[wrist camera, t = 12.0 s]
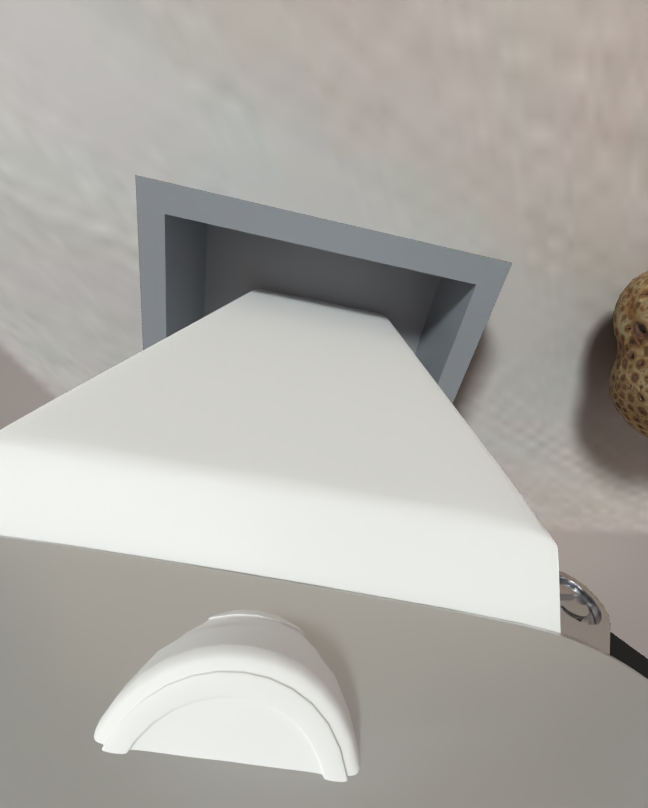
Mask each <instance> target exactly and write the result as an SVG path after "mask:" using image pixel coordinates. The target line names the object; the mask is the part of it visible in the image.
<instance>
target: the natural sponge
mask: <svg viewBox="0 0 648 808" xmlns="http://www.w3.org/2000/svg"><path fill="white" fill-rule="evenodd" d="M613 325H614V334H615V336H616V339H617V355H616V358H615V361H614V364H613V367H612V369H611V373H610V380H609V393H610V396H611V399H612V401H613V403H614V405H615V407H616V409H617V411H618V412H619V413H620V414H621V415H622V416H623V418H624V419H625V420H626V421H627V422H628V424H629V425H631V426H632V427H633V428H634V429H636V430H637V431H638V432H640V433H641V434H643V435H644V436H646V437H648V271H647V272H645V273H643V274H641V275H640V276H638V277H636V278H635V279H633V280H632V282H631V283H630V284H629V285H628V286H627V287H626V288H625V289H624V291H623V292H622V293H621V294H620V296H619V299H618V301H617V303H616V306H615V311H614V315H613Z"/></svg>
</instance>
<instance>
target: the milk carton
mask: <svg viewBox="0 0 648 808" xmlns="http://www.w3.org/2000/svg"><path fill="white" fill-rule="evenodd" d="M0 535H1V536H9V537H16V538H24V539H31V540H39V541H46V542H52V543H58V544H65V545H71V546H77V547H83V548H89V549H96V550H102V551H108V552H115V553H121V554H127V555H134V556H140V557H146V558H153V559H159V560H165V561H172V562H178V563H184V564H190V565H196V566H202V567H208V568H214V569H219V570H225V571H231V572H237V573H243V574H249V575H255V576H261V577H267V578H273V579H279V580H285V581H291V582H297V583H302V584H308V585H314V586H320V587H326V588H332V589H338V590H344V591H349V592H355V593H361V594H366V595H372V596H377V597H383V598H389V599H394V600H400V601H405V602H411V603H417V604H422V605H428V606H433V607H439V608H445V609H450V610H456V611H462V612H467V613H473V614H478V615H483V616H488V617H493V618H497V619H502V620H507V621H512V622H517V623H522V624H526V625H531V626H535V627H539V628H543V629H546V630H550V631H554V632H557V633H561V628H560V587H559V562H558V549H557V545H556V544H555V542H554V541H553V539H552V538H551V536H550V535H549V533H548V532H547V530H546V529H545V527H544V526H543V525H542V523H541V522H540V520H539V519H538V517H537V516H536V515H535V513H534V512H533V511H532V509H531V508H530V507H529V505H528V504H527V502H526V501H525V500H524V498H523V497H522V496H521V494H520V493H519V492H518V490H517V489H516V488H515V486H514V485H513V484H512V482H511V481H510V480H509V478H508V477H507V476H506V474H505V473H504V472H503V470H502V469H501V468H500V466H499V465H498V464H497V462H496V461H495V460H494V458H493V457H492V456H491V454H490V453H489V452H488V450H487V449H486V448H485V446H484V445H483V444H482V442H481V441H480V440H479V439H478V437H477V436H476V435H475V433H474V432H473V431H472V429H471V428H470V427H469V425H468V424H467V423H466V421H465V420H464V419H463V417H462V416H461V415H460V413H459V412H458V411H457V409H456V408H455V407H454V405H453V404H452V403H451V402H450V400H449V399H448V398H447V396H446V395H445V394H444V392H443V391H442V390H441V388H440V387H439V386H438V384H437V383H436V382H435V380H434V379H433V378H432V376H431V375H430V374H429V372H428V371H427V370H426V368H425V367H424V366H423V365H422V363H421V362H420V361H419V359H418V358H417V357H416V355H415V354H414V353H413V351H412V350H411V349H410V347H409V346H408V345H407V343H406V342H405V341H404V339H403V338H402V337H401V335H400V334H399V333H398V331H397V330H396V329H395V328H394V326H393V325H392V324H391V322H390V321H389V320H388V318H387V317H386V316H385V315H383V314H380V313H376V312H371V311H367V310H362V309H357V308H352V307H347V306H342V305H338V304H333V303H328V302H323V301H318V300H313V299H309V298H304V297H299V296H294V295H289V294H284V293H279V292H275V291H270V290H264V289H254V290H253V291H251V292H249V293H247V294H245V295H243V296H242V297H240V298H238V299H236V300H234V301H233V302H231V303H229V304H227V305H225V306H223V307H222V308H220V309H218V310H216V311H214V312H212V313H211V314H209V315H207V316H205V317H203V318H202V319H200V320H198V321H196V322H194V323H192V324H191V325H189V326H187V327H185V328H183V329H181V330H180V331H178V332H176V333H174V334H172V335H171V336H169V337H167V338H165V339H163V340H161V341H160V342H158V343H156V344H154V345H152V346H150V347H149V348H147V349H145V350H143V351H141V352H140V353H138V354H136V355H134V356H132V357H130V358H129V359H127V360H125V361H123V362H121V363H119V364H118V365H116V366H114V367H112V368H110V369H109V370H107V371H105V372H103V373H101V374H99V375H98V376H96V377H94V378H92V379H90V380H88V381H87V382H85V383H83V384H81V385H79V386H78V387H76V388H74V389H72V390H70V391H69V392H67V393H65V394H63V395H61V396H60V397H58V398H56V399H54V400H52V401H51V402H49V403H47V404H45V405H43V406H42V407H40V408H38V409H36V410H35V411H33V412H31V413H29V414H27V415H26V416H24V417H22V418H20V419H19V420H17V421H15V422H13V423H11V424H10V425H8V426H6V427H5V428H3V429H1V430H0ZM208 619H209V620H208V621H207V622H205V623H203V624H202V625H200V626H198V627H196V628H194V629H192V630H190V631H188V632H187V633H185V634H184V635H183V636H181V637H180V638H179V639H177V640H175V641H174V642H172V643H170V644H169V645H167V646H166V647H164V648H162V649H161V650H159V651H158V652H157V653H156V654H155V655H154V656H153V657H152V658H151V659H150V660H149V661H148V662H147V663H146V664H145V665H144V666H143V667H142V668H141V669H140V670H139V672H138V673H137V674H136V675H135V676H134V677H133V678H132V679H131V680H130V681H129V682H128V683H127V684H126V685H125V687H124V688H123V689H122V690H121V692H120V693H119V694H118V695H117V697H116V698H115V700H114V701H113V702H112V704H111V705H110V706H109V708H108V709H107V711H106V712H105V713H104V715H103V716H102V718H101V719H100V721H99V723H98V725H97V727H96V730H95V733H94V739H95V741H96V742H98V743H101V744H103V747H102V750H103V751H105V752H109V753H115V754H126V753H128V751H129V750H142V751H150V752H157V753H165V754H172V755H179V756H187V757H195V758H203V759H212V760H221V761H229V762H237V763H244V764H251V765H258V766H266V767H274V768H282V769H290V770H299V771H306V772H313V773H319V774H322V775H323V777H324V779H326V780H329V781H336V782H346V781H347V780H348V778H347V777H348V776H352V775H356V774H357V773H358V772H359V769H360V751H359V747H358V743H357V739H356V735H355V732H354V728H353V724H352V720H351V716H350V712H349V709H348V707H347V704H346V702H345V699H344V697H343V694H342V692H341V689H340V687H339V684H338V682H337V679H336V677H335V675H334V674H333V672H332V671H331V670H330V669H329V668H328V666H327V665H326V664H325V663H324V661H323V660H322V658H321V657H320V655H319V654H318V652H317V650H316V649H315V648H314V647H313V646H312V645H311V644H310V642H309V641H308V640H307V639H306V638H305V637H304V635H303V634H304V632H303V631H302V630H301V629H300V628H299V627H297V626H296V625H294V624H292V623H291V622H289V621H287V620H286V619H284V618H282V617H281V616H278V615H275V614H271V613H268V612H264V611H261V610H234V611H230V612H226V613H222V614H218V615H214V616H211V617H210V618H208Z"/></svg>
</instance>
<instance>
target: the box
mask: <svg viewBox="0 0 648 808" xmlns="http://www.w3.org/2000/svg"><path fill="white" fill-rule="evenodd" d="M135 178H136V200H137V223H138V245H139V267H140V289H141V312H142V334H143V350H145V349H147V348H149V347H150V346H152V345H154V344H156V343H158V342H160V341H161V340H163V339H165V338H167V337H169V336H171V335H172V334H174V333H176V332H178V331H180V330H181V329H183V328H185V327H187V326H189V325H191V324H192V323H194V322H196V321H198V320H200V319H202V318H203V317H205V316H207V315H209V314H211V313H212V312H214V311H216V310H218V309H220V308H222V307H223V306H225V305H227V304H229V303H231V302H233V301H234V300H236V299H238V298H240V297H242V296H243V295H245V294H247V293H249V292H251V291H253V290H254V289H264V290H270V291H275V292H279V293H284V294H289V295H294V296H299V297H304V298H309V299H313V300H318V301H323V302H328V303H333V304H338V305H342V306H347V307H352V308H357V309H362V310H367V311H371V312H376V313H380V314H383V315H385V316H386V317H387V318H388V320H389V321H390V322H391V324H392V325H393V326H394V328H395V329H396V330H397V331H398V333H399V334H400V335H401V337H402V338H403V339H404V341H405V342H406V343H407V345H408V346H409V347H410V349H411V350H412V351H413V353H414V354H415V355H416V357H417V358H418V359H419V361H420V362H421V363H422V365H423V366H424V367H425V368H426V370H427V371H428V372H429V374H430V375H431V376H432V378H433V379H434V380H435V382H436V383H437V384H438V386H439V387H440V388H441V390H442V391H443V392H444V394H445V395H446V396H447V398H448V399H449V400H450V402H451V403H452V404H453V401H454V399H455V397H456V394H457V392H458V390H459V387H460V385H461V383H462V380H463V378H464V375H465V373H466V371H467V368H468V366H469V364H470V361H471V359H472V357H473V354H474V352H475V350H476V347H477V345H478V342H479V340H480V338H481V335H482V333H483V331H484V328H485V326H486V324H487V321H488V319H489V317H490V314H491V312H492V309H493V307H494V305H495V302H496V300H497V298H498V295H499V293H500V291H501V288H502V286H503V284H504V281H505V279H506V276H507V274H508V272H509V269H510V267H511V265H512V263H511V262H506V261H502V260H498V259H494V258H489V257H485V256H481V255H476V254H472V253H468V252H464V251H459V250H455V249H451V248H446V247H442V246H438V245H433V244H429V243H425V242H421V241H416V240H412V239H408V238H403V237H399V236H395V235H391V234H386V233H382V232H378V231H373V230H369V229H365V228H361V227H356V226H352V225H348V224H343V223H339V222H335V221H331V220H326V219H322V218H318V217H313V216H309V215H305V214H300V213H296V212H292V211H288V210H283V209H279V208H275V207H270V206H266V205H262V204H258V203H253V202H249V201H245V200H240V199H236V198H232V197H228V196H223V195H219V194H215V193H210V192H206V191H202V190H198V189H193V188H189V187H185V186H180V185H176V184H172V183H167V182H163V181H159V180H155V179H150V178H146V177H142V176H137V175H135Z"/></svg>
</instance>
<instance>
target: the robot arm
mask: <svg viewBox="0 0 648 808" xmlns="http://www.w3.org/2000/svg"><path fill="white" fill-rule="evenodd" d="M559 587H560V628H561V633H557V632H554V631H550V630H546V629H543V628H539V627H535V626H531V625H526V624H522V623H517V622H512V621H507V620H502V619H497V618H493V617H488V616H483V615H478V614H473V613H467V612H462V611H456V610H450V609H445V608H439V607H433V606H428V605H422V604H417V603H411V602H405V601H400V600H394V599H389V598H383V597H377V596H372V595H366V594H361V593H355V592H349V591H344V590H338V589H332V588H326V587H320V586H314V585H308V584H302V583H297V582H291V581H285V580H279V579H273V578H267V577H261V576H255V575H249V574H243V573H237V572H231V571H225V570H219V569H214V568H208V567H202V566H196V565H190V564H184V563H178V562H172V561H165V560H159V559H153V558H146V557H140V556H134V555H127V554H121V553H115V552H108V551H102V550H96V549H89V548H83V547H77V546H71V545H65V544H58V543H52V542H46V541H39V540H31V539H24V538H16V537H9V536H1V535H0V808H648V659H647V658H646V657H644V656H643V655H641V654H640V653H639V652H637V651H636V650H634V649H633V648H632V647H630V646H629V645H628V644H626V643H625V642H624V641H622V640H621V639H619V638H618V637H617V636H615V635H614V634H613V633H611V632H610V625H611V624H610V619H609V615H608V613H607V611H606V609H605V607H604V605H603V604H602V603H601V602H600V601H599V599H598V598H597V597H596V596H595V595H594V594H593V593H592V592H591V591H590V590H589V589H588V588H587V587H586V586H584V585H583V584H582V583H580V582H579V581H578V580H576V579H575V578H573V577H571V576H569V575H567V574H566V573H564V572H560V571H559ZM234 610H261V611H264V612H268V613H271V614H275V615H278V616H281V617H282V618H284V619H286V620H287V621H289V622H291V623H292V624H294V625H296V626H297V627H299V628H300V629H301V630H302V631H303V632H304V634H303V635H304V637H305V638H306V639H307V640H308V641H309V642H310V644H311V645H312V646H313V647H314V648H315V649H316V650H317V652H318V654H319V655H320V657H321V658H322V660H323V661H324V663H325V664H326V665H327V666H328V668H329V669H330V670H331V671H332V672H333V674H334V675H335V677H336V679H337V682H338V684H339V687H340V689H341V692H342V694H343V697H344V699H345V702H346V704H347V707H348V709H349V712H350V716H351V720H352V724H353V728H354V732H355V735H356V739H357V743H358V747H359V751H360V769H359V772H358V773H357V774H356V775H352V776H348V777H347V778H348V780H347V781H346V782H336V781H329V780H326V779H324V777H323V775H322V774H319V773H313V772H306V771H299V770H290V769H282V768H274V767H266V766H258V765H251V764H244V763H237V762H229V761H221V760H212V759H203V758H195V757H187V756H179V755H172V754H165V753H157V752H150V751H142V750H129V751H128V753H126V754H115V753H109V752H105V751H103V750H102V747H103V744H101V743H98V742H96V741H95V739H94V733H95V730H96V727H97V725H98V723H99V721H100V719H101V718H102V716H103V715H104V713H105V712H106V711H107V709H108V708H109V706H110V705H111V704H112V702H113V701H114V700H115V698H116V697H117V695H118V694H119V693H120V692H121V690H122V689H123V688H124V687H125V685H126V684H127V683H128V682H129V681H130V680H131V679H132V678H133V677H134V676H135V675H136V674H137V673H138V672H139V670H140V669H141V668H142V667H143V666H144V665H145V664H146V663H147V662H148V661H149V660H150V659H151V658H152V657H153V656H154V655H155V654H156V653H157V652H158V651H159V650H161V649H162V648H164V647H166V646H167V645H169V644H170V643H172V642H174V641H175V640H177V639H179V638H180V637H181V636H183V635H184V634H185V633H187V632H188V631H190V630H192V629H194V628H196V627H198V626H200V625H202V624H203V623H205V622H207V621H208V620H209V619H208V618H210V617H211V616H214V615H218V614H222V613H226V612H230V611H234Z"/></svg>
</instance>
